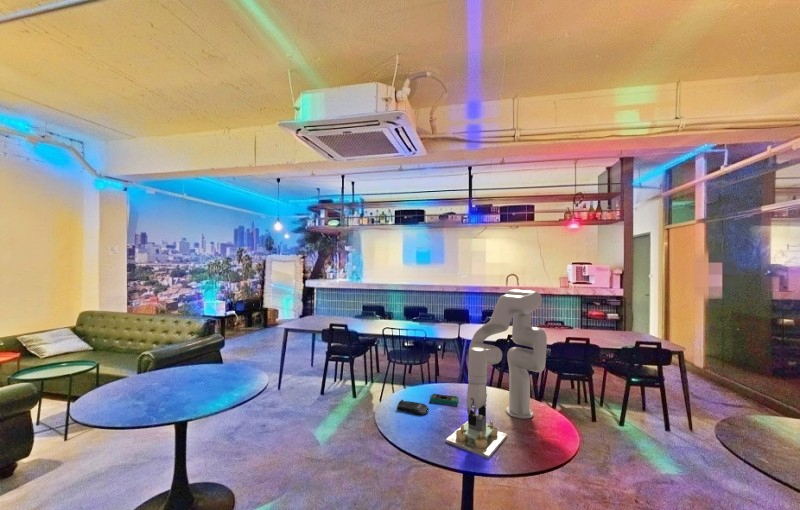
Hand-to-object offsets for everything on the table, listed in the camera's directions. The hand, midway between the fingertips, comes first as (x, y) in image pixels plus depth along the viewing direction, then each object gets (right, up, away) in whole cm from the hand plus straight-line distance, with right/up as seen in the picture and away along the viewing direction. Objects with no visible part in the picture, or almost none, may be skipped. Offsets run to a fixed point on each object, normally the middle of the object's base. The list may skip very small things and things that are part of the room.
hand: (477, 420), depth 135 cm
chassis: (0, -8, 0) cm, 8 cm away
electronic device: (-25, -9, +26) cm, 38 cm away
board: (0, -4, 0) cm, 4 cm away
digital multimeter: (-9, -10, +37) cm, 39 cm away
